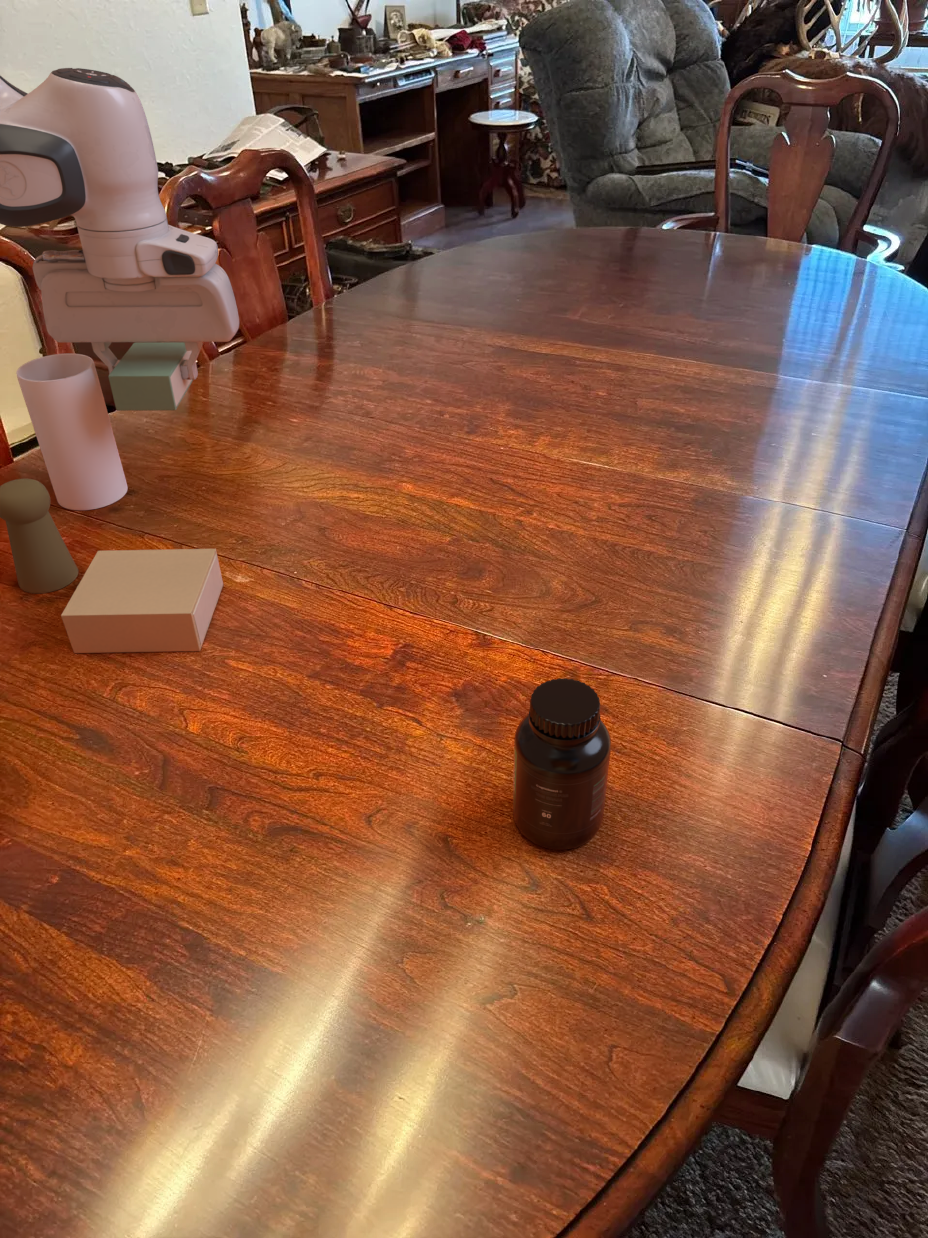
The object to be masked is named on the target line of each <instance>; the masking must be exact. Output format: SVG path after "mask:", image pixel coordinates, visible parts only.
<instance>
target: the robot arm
mask: <svg viewBox="0 0 928 1238" xmlns="http://www.w3.org/2000/svg"><path fill="white" fill-rule="evenodd" d="M151 133H152V132H151V130H150V125H149V122H148V119H147V116H146V112H145V108H144V107H143V104H142V101H141V98H140V96H139V95H138V93H137V91H136V90H135V89H134V88H133V87H132V86H131V85H130V84H129V83H128V82H127V81H125V80H124V79H123V78H121V77H119V76H118V75H115V74H111V73H109V72H104V71H100V70H94V69H89V68H82V67H76V68H73V67H62V68H57V69H55V70H52V71H51V72H50V73H49V74H48V76H47V77H46V78H45V79H44V80H43V82H41V83H40V84H39V85H37V86H36V88H34V89H33V90H31V91H29V92H28V93H27V92H26V91H24V90H22V89H20V88H18V87H17V86H15V85H14V84H12V83H10V81H8V80H7V79H5V78H4V77H3V76H2V75H0V225H3V226H6V227H12V228H25V227H32V226H37V225H40V224H44V223H48V222H53V221H57V220H60V219H63V218H66V217H68V216H71V217H73V218H74V221H75V223H76V227H77V232H78V237H79V240H80V244H81V248H82V249H79V250H77V249H74V250H73V249H72V250H65V251H64V250H63V251H62V250H61V251H57V250H52V249H51V250H50V249H49V250H44V251H42V254H40V255H38V256H36V258H34V261H33V263H32V272H33V276H34V280H35V283H36V285H37V287H38V289H39V291H40V293H41V303H42V311H43V317H44V318H43V319H44V323H45V328H46V331H47V334H48V335H49V336H50V337H51V338H52V339H53V340H54V341H55V342H57V343H91V348H92V351H93V353H94V354H95V355H96V356H97V357H98V359H100V361H101V362H102V363H103V364H104V365H105V366H106V367H107V370H108V373H109V374H110V373H111V372H112V371H113V369H114V368H115V367H116V365H117V364H118V363H119V361H120V360H121V359H118V358H117V356H116V355H115V354H114V352H113V351H112V350H111V348H110V346H111V345H112V343H144V342H185V347H186V350H187V351H192V352H191V354H190V357H189V359H188V360H183V361H182V363H181V364H180V372H181V373H182V374H181V377H182V379H183V380H193V381H195V380H197V378H198V375H199V373H198V372H199V371H198V365H197V360H198V357H199V354H200V352H201V350H202V348H203V345H204V343H228V342H231V340H232V339H233V338H234V337H235V336H236V334H237V333H238V331H239V328H240V317H239V310H238V306H237V305H238V304H237V301H236V297H235V293H234V290H233V287H232V283H231V280H230V278H229V276H228V274H227V272H226V271H225V270H224V269H223V267H221V266H220V265H219V264H217V261H218V259H219V258H218V257H219V247H218V244H217V241H215V239H212V238H210V237H206V236H204V235H201V234H197V233H194V232H191V231H188V230H185V229H182V228H179V227H176V226H173V225H170V224H169V223H168V217H167V212H166V210H165V207H164V205H163V203H162V201H161V198H160V196H159V188H158V181H159V166H158V162H157V157H156V151H155V147H154V141H153V138H152V134H151ZM109 374H108V375H109Z"/></svg>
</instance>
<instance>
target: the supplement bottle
mask: <svg viewBox="0 0 928 1238" xmlns="http://www.w3.org/2000/svg"><path fill="white" fill-rule="evenodd" d="M600 700H601V699H600V696H598V693H597V692H595V690H594V688H592V687H591V686H590V685H588V684H586V683H585V682H582V681H580V680H578V679H577V680H576V679H573V678H560V677H559V678H554V679H553V678H552V679H551V680H546V681H544V682H542V683H541V684H540V685H538V686H536V688H535V689H534V690H533V691H532V693H531V695H530V700H529V709H528V713H527V714H526V715H525V716H524V717H523V718H522V719H521V721H520V722H519V724H518V725H517V727H516V730H515V733H514V743H513V745H514V746H513V781H512V782H513V785H512V787H513V788H512V815H513V820H514V823H515V825H516V827H517V829H518V831H519V832H520V833H521V834H522V835H523V836H524V837H525V838H526V839H527V840H529V841H530V842H531V843H533V844H535V845H537V846H539V847H541V848H544V849H549V850H555V851H567V850H572V849H575V848H576V849H577V848H579V847H582V846H584V845H585V844H587V843H588V842H590V841H591V840H593V839H594V837H595V836H596V835H597V834H598V832H599V831H600V829H601V826H602V824H603V819H604V813H605V806H606V796H607V787H608V780H609V779H608V777H609V770H610V762H611V761H610V759H611V751H612V741H611V740H612V739H611V735H610V732H609V730H608V728H607V725H605V723H604V722H603V721H602V719H601V701H600Z"/></svg>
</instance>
